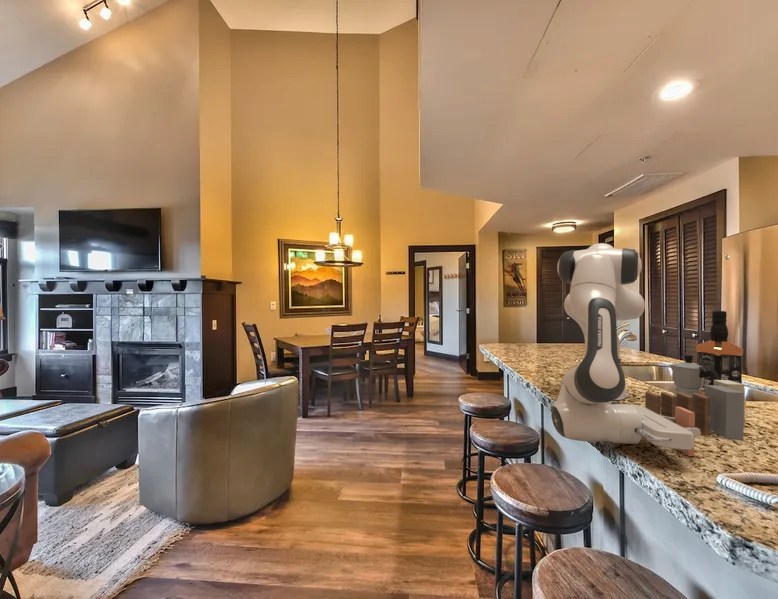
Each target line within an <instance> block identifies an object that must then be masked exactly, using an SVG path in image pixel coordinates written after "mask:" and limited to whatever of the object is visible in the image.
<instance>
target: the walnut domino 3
mask: <svg viewBox="0 0 778 599" xmlns="http://www.w3.org/2000/svg"><path fill="white" fill-rule="evenodd" d="M677 407H682V408H685V409H687V410H689V411H691V412H694V397H691V396H689V395H686V394H683V393H677Z"/></svg>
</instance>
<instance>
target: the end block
mask: <svg viewBox="0 0 778 599" xmlns="http://www.w3.org/2000/svg"><path fill="white" fill-rule="evenodd" d="M705 396H706V397H709V398H710V430H711V431H713V432H715V433H717V434H719V435H721V436H723V437H725V438H724V439H726V438H728V439H727V440H741V441H742V440H744V429H745V427H744V407H745V392H744V393H743V392H740V391H736V390H733V389H730V388H727V387H723V386H718V385H705ZM711 431H710V432H711ZM713 432H712V433H713ZM715 433H714V434H715ZM717 434H716V435H717ZM719 435H718V436H719ZM721 436H720V437H721ZM723 437H722V438H723Z"/></svg>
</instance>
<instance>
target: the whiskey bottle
mask: <svg viewBox="0 0 778 599" xmlns="http://www.w3.org/2000/svg"><path fill="white" fill-rule="evenodd" d="M711 314H712V315H711V322H712V323H711V327H710V331H709V333H710V339H709V340H708V341H707V340H706V341H705V342H701V343H699V344H696V346H695V351H696V353H697V355H696V356H697V358H696V364H697V365H700V366H703V367H709V368H710V369H711V370H714V371H716V372H717V374H718V376H719V378H720V379H719V380H730V381H734V382H737V383H741V384H743V383H742V382H743V381H742V378H743V376H742V373H743V372H742V366H743V365H742V356H743V355H744V349H743V348H742V347H741V346H738V345H737V344H735V343H733V342H730V341H729V340H728V336H729V329H728V326H727V321H728V320H727V316H728V315H727V311H726V310H713V311H712V313H711ZM712 379H713V377H712V376H710V377H705V378H704V381H703V387H702V388H700V391H701V393H702V395H703V396H705V392H704V391H703V390H704V389H705V385H708V384H709V383H710V382H711V381H712Z"/></svg>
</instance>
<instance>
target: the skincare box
mask: <svg viewBox="0 0 778 599" xmlns="http://www.w3.org/2000/svg"><path fill="white" fill-rule="evenodd" d="M714 385H718V386H723V387H727V388H730V389H733V390H736V391H740V392H743V393H744V394H745V384H743V383H742V384H741V383H737V382H734V381H730V380H714ZM745 427H746V414H745V406H744V428H745Z"/></svg>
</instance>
